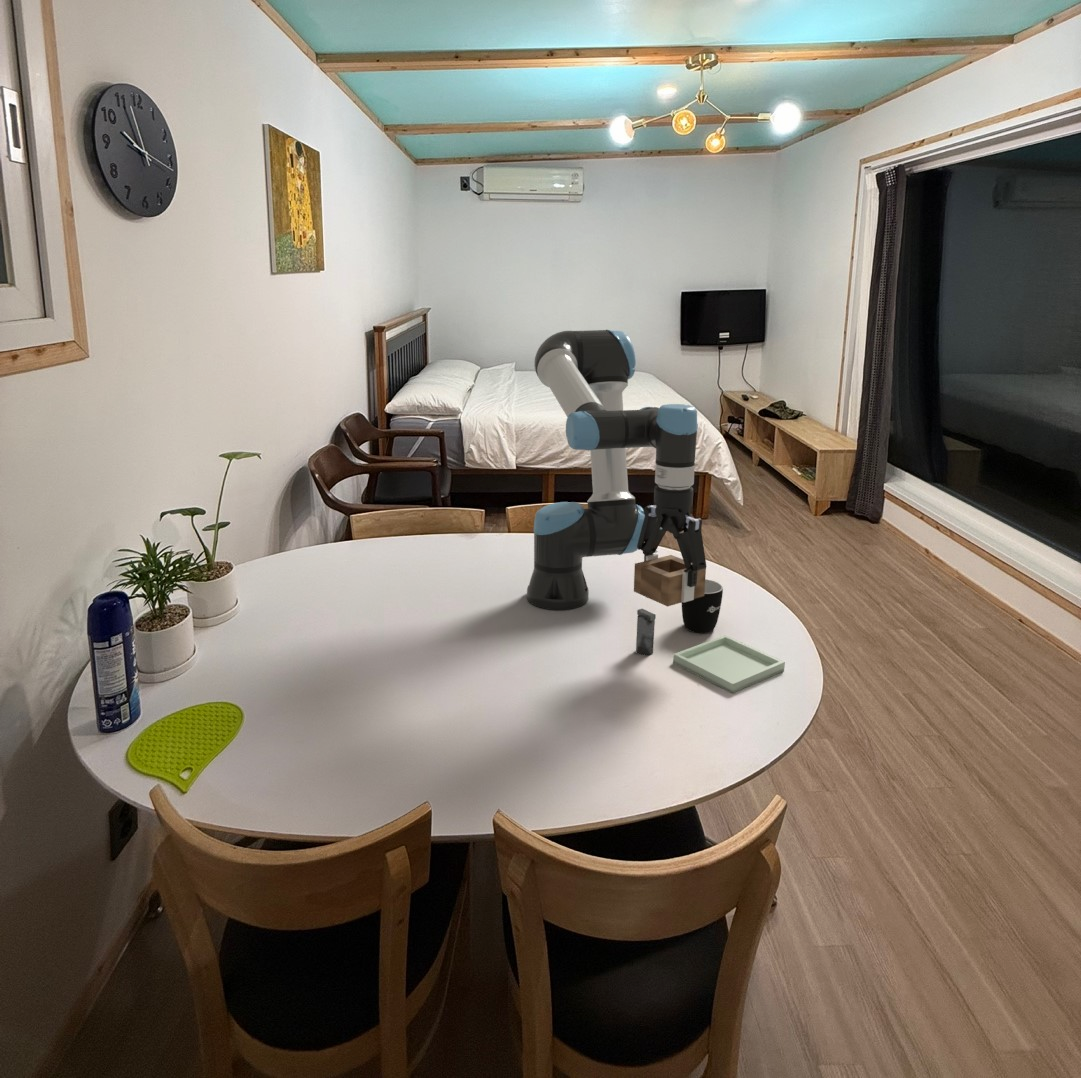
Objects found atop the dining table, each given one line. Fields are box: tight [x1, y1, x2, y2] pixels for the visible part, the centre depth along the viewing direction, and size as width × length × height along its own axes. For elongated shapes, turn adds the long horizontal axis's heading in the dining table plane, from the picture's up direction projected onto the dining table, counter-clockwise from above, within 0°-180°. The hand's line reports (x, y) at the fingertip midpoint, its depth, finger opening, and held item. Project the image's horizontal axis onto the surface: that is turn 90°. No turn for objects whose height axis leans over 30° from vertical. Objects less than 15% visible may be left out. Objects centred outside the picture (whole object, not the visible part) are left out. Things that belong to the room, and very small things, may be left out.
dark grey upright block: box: [635, 608, 657, 656], centre depth 168 cm, size 4×4×9 cm
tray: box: [672, 634, 786, 694], centre depth 162 cm, size 16×16×2 cm
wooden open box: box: [633, 554, 707, 607], centre depth 161 cm, size 10×10×6 cm
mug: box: [681, 578, 724, 634], centre depth 180 cm, size 12×9×10 cm
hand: (668, 592), depth 162 cm, fingers closed on wooden open box, 10 cm apart
